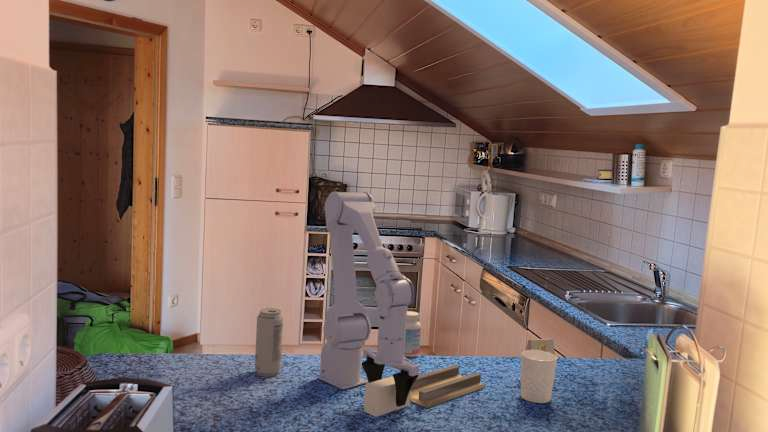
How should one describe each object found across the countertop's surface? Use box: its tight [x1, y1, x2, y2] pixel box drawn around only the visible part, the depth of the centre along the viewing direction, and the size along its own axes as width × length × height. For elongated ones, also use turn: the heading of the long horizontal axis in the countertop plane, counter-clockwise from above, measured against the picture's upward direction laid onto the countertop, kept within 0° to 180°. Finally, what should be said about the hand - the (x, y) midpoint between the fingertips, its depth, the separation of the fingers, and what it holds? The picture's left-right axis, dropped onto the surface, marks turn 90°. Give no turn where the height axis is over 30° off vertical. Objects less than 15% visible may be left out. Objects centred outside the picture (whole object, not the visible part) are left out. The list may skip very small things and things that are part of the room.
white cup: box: [520, 350, 558, 404], centre depth 148 cm, size 8×8×10 cm
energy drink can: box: [254, 307, 284, 377], centre depth 153 cm, size 6×6×15 cm
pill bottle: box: [404, 310, 422, 358], centre depth 174 cm, size 6×6×11 cm
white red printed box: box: [524, 338, 556, 356], centre depth 161 cm, size 4×7×10 cm, turn 107°
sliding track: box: [410, 364, 484, 409], centre depth 149 cm, size 10×20×3 cm, turn 135°
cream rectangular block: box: [363, 375, 411, 418], centre depth 137 cm, size 4×10×6 cm, turn 135°
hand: (387, 399), depth 137 cm, fingers open, 7 cm apart
